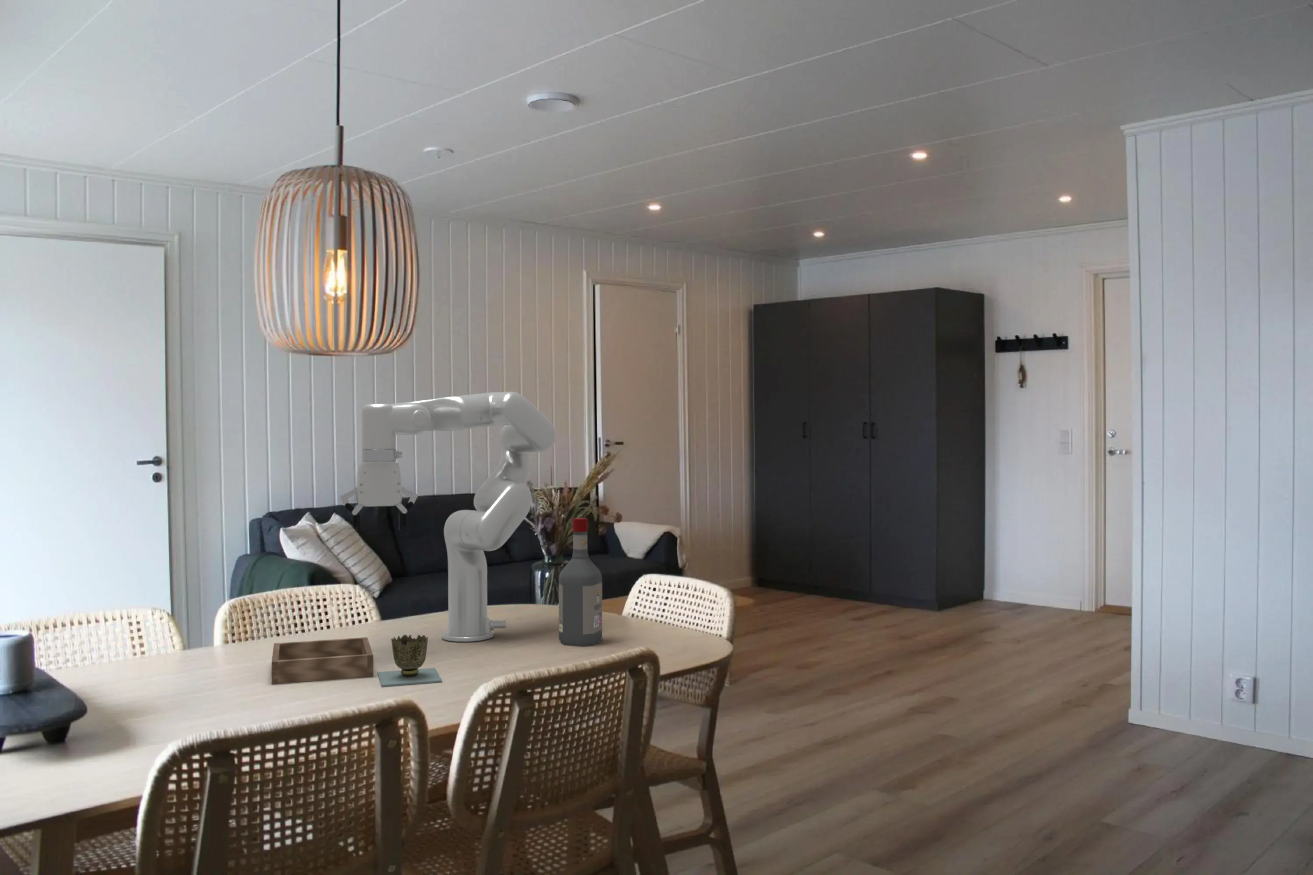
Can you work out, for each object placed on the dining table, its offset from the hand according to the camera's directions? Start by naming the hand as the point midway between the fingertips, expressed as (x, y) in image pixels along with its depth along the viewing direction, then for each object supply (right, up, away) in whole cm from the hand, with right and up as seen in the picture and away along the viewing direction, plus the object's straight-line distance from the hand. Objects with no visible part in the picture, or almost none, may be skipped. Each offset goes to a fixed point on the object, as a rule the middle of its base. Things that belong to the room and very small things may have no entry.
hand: (379, 531), depth 244 cm
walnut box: (-8, -29, -16) cm, 34 cm away
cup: (+13, -28, -24) cm, 39 cm away
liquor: (+46, -28, +12) cm, 55 cm away
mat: (+12, -28, -24) cm, 39 cm away
